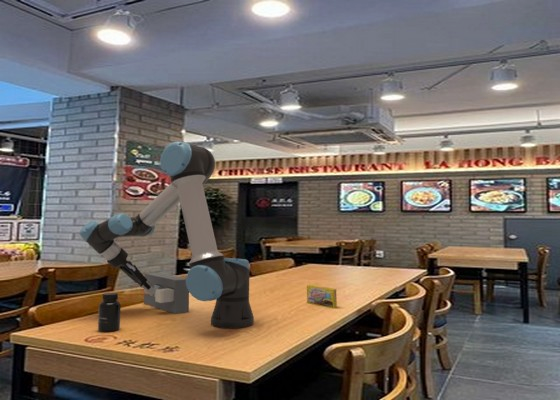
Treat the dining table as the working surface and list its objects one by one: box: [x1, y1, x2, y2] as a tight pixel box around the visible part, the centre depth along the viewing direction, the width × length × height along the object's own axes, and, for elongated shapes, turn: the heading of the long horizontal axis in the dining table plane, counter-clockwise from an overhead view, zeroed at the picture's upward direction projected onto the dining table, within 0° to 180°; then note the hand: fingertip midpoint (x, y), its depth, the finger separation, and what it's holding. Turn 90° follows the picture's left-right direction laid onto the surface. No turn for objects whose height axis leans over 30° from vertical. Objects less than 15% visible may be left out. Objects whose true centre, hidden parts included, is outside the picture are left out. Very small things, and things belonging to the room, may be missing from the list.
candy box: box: [306, 284, 338, 309], centre depth 196 cm, size 16×2×8 cm, turn 42°
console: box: [143, 272, 190, 315], centre depth 190 cm, size 6×29×13 cm, turn 40°
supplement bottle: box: [97, 292, 122, 333], centre depth 151 cm, size 7×7×12 cm
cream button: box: [155, 288, 174, 303], centre depth 178 cm, size 8×5×5 cm, turn 130°
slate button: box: [154, 285, 162, 297], centre depth 190 cm, size 8×5×5 cm, turn 130°
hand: (153, 293), depth 186 cm, fingers closed
